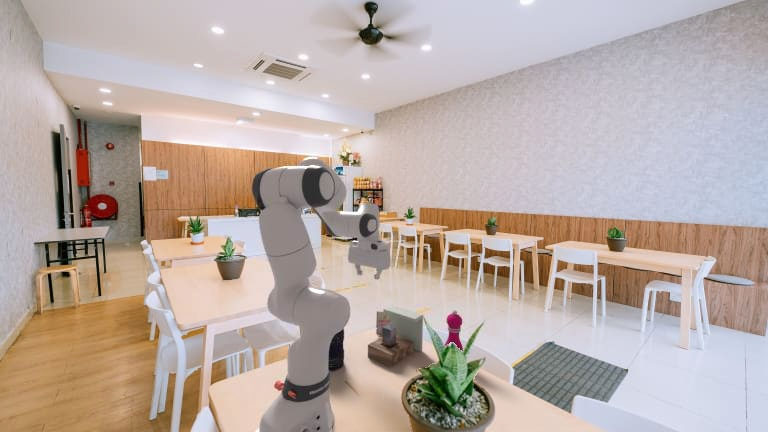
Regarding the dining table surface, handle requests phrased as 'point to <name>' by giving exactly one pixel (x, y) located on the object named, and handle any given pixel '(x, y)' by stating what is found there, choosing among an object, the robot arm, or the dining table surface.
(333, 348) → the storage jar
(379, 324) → the tea bag
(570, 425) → the dining table surface
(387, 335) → the peg
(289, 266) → the robot arm
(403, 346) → the socket
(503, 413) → the dining table surface
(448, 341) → the pepper mill
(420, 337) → the pale green stepped block
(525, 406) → the dining table surface
